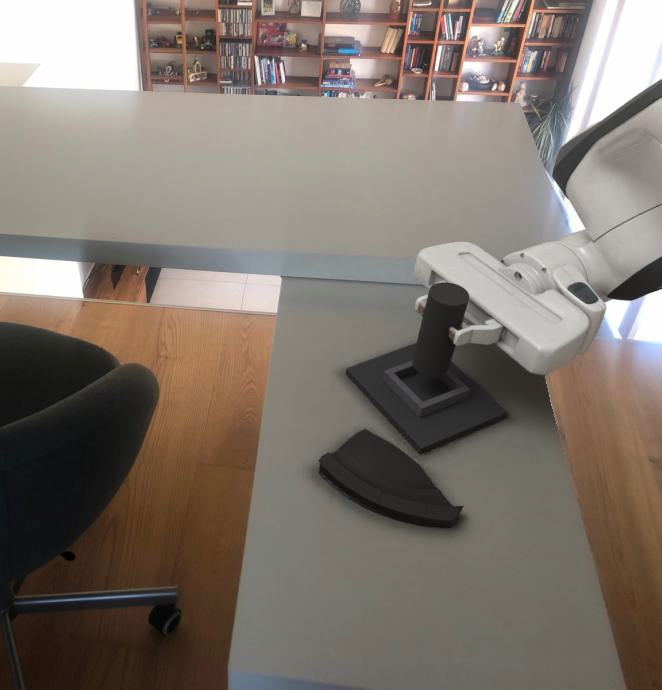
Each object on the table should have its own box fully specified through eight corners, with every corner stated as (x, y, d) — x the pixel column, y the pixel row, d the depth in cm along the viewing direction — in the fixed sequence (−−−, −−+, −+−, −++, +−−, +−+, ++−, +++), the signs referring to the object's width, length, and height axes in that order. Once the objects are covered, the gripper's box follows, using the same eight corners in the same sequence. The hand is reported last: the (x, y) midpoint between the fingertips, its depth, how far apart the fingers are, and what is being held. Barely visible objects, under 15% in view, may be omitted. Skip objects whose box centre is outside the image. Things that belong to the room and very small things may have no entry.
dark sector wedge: (421, 557, 65) (424, 547, 64) (313, 471, 73) (314, 461, 72) (472, 507, 69) (476, 498, 68) (364, 431, 77) (366, 421, 76)
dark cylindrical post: (456, 368, 77) (478, 296, 71) (430, 382, 76) (450, 310, 69) (429, 348, 80) (448, 277, 73) (404, 361, 78) (420, 290, 72)
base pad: (505, 417, 78) (511, 402, 76) (419, 454, 74) (424, 439, 72) (424, 344, 87) (428, 329, 86) (345, 374, 84) (347, 358, 82)
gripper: (476, 219, 82) (380, 248, 78) (620, 315, 68) (514, 357, 64) (464, 263, 87) (372, 293, 82) (598, 362, 73) (496, 404, 68)
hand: (435, 322), depth 73 cm, fingers closed on dark cylindrical post, 4 cm apart
